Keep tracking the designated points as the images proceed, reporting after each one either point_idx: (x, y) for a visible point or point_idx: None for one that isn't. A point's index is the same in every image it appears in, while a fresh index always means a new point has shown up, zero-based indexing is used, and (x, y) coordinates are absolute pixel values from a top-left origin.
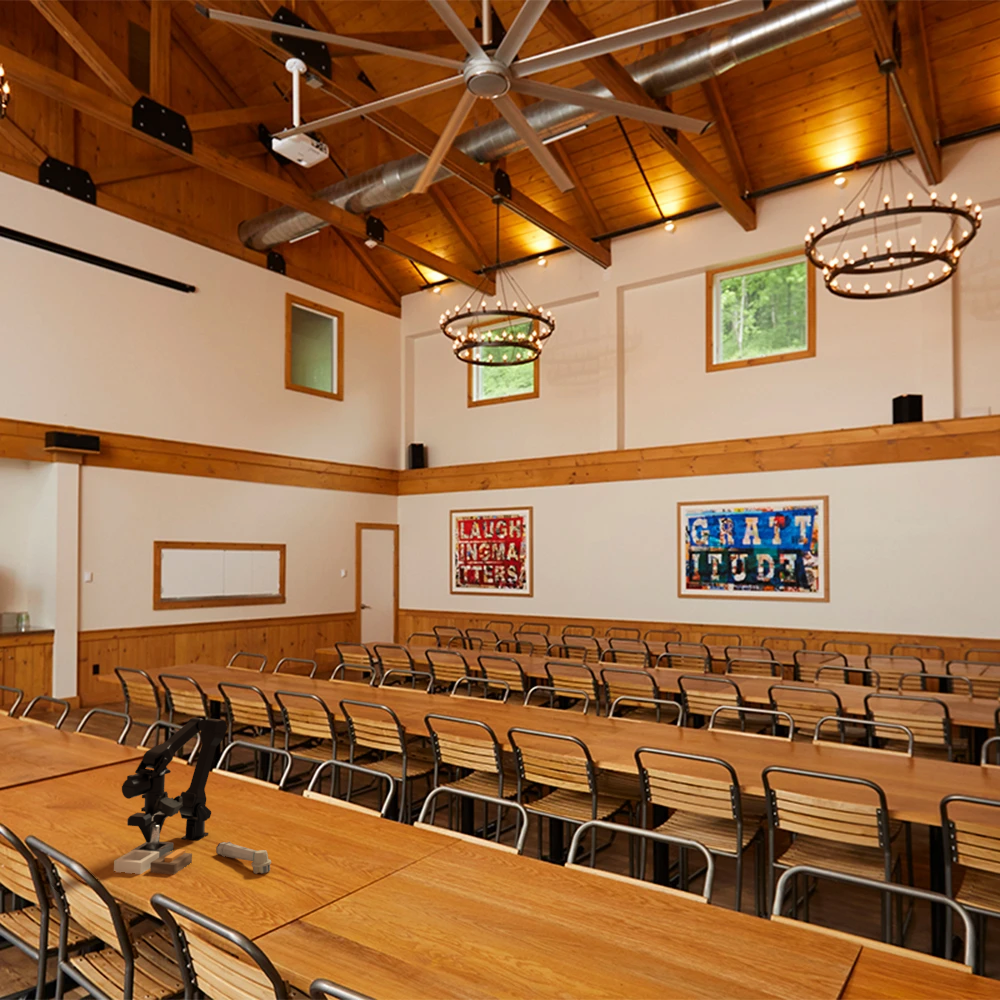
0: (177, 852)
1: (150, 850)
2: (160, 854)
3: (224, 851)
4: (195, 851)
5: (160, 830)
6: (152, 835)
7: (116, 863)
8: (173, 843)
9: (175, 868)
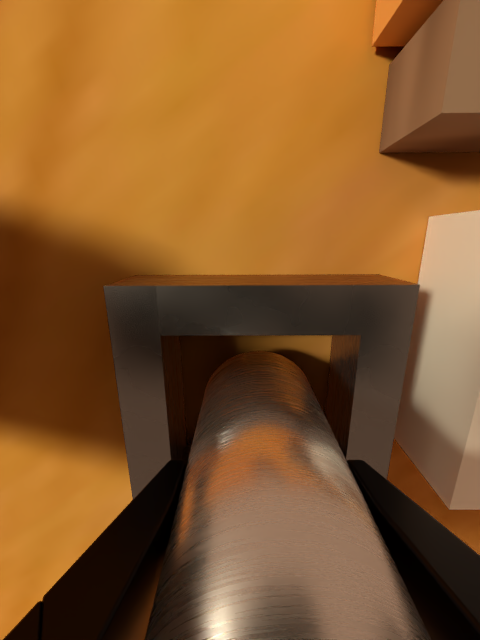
0: None
1: (360, 381)
2: (331, 278)
3: None
4: (82, 26)
5: (128, 527)
6: (370, 517)
7: None
8: (108, 284)
9: None
